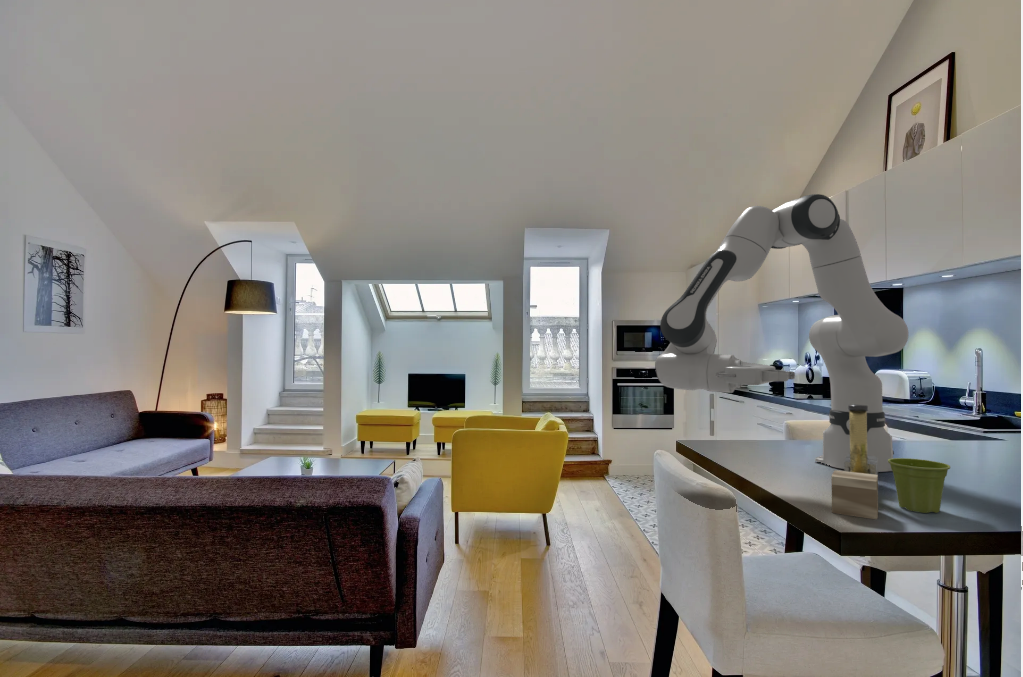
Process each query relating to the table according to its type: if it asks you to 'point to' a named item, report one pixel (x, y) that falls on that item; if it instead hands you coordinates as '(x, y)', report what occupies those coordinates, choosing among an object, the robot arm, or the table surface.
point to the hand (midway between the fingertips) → (791, 376)
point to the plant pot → (919, 483)
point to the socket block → (855, 494)
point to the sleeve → (871, 464)
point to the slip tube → (858, 439)
